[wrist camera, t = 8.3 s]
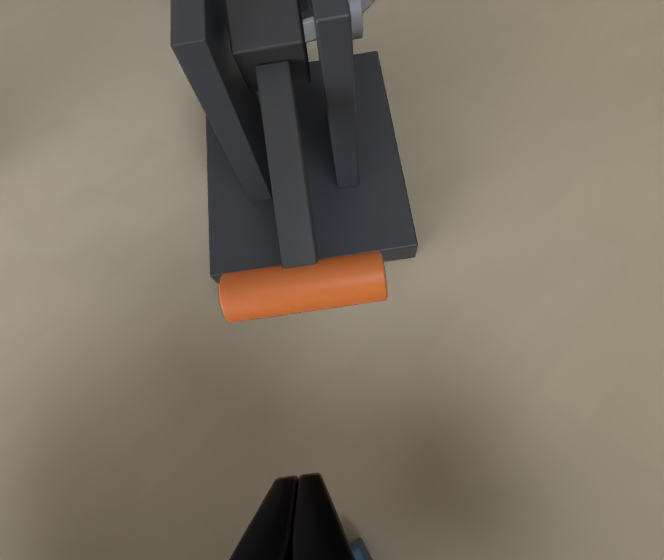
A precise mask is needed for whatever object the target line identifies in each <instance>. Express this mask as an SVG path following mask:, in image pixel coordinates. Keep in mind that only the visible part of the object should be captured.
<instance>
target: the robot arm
mask: <svg viewBox="0 0 664 560" xmlns="http://www.w3.org/2000/svg"><path fill="white" fill-rule="evenodd" d="M229 560H356V558H355V556H354V553H353V551H352V548H351V546H350V544H349V541H348V539H347V536H346V534H345V531H344V529H343V526H342V524H341V522H340V519H339V517H338V514H337V512H336V509H335V507H334V505H333V502H332V500H331V497H330V495H329V492H328V490H327V487H326V485H325V483H324V480H323V478H322V476H321V474H320V473H310V474H303V475H301V476H300V477H299V478H298V477H297V476H287V477H280V478H277V479H276V480H275V481H274V483H273V485H272V486H271V488H270V490H269V492H268V493H267V495H266V497H265V499H264V500H263V502H262V504H261V505H260V507H259V509H258V511H257V512H256V514H255V516H254V518H253V519H252V521H251V523H250V524H249V526H248V528H247V530H246V531H245V533H244V535H243V537H242V538H241V540H240V542H239V543H238V545H237V547H236V549H235V550H234V552H233V554H232V556H231V557H230V559H229Z"/></svg>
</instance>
